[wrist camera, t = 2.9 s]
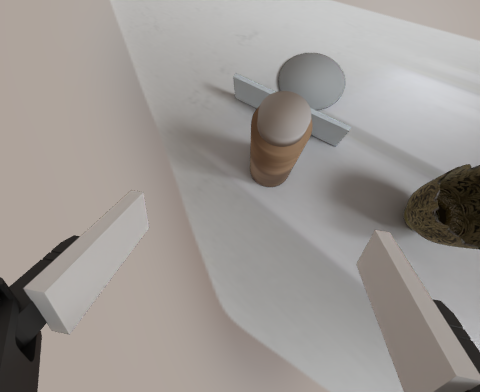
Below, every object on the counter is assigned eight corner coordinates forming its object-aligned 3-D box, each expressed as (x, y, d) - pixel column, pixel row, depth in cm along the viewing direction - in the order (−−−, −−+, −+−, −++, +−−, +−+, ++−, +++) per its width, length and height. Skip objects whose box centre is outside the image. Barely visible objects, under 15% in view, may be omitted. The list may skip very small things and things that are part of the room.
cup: (375, 192, 28) (426, 171, 20) (435, 182, 28) (508, 156, 20) (396, 255, 26) (459, 258, 18) (459, 243, 26) (549, 242, 18)
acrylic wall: (337, 142, 29) (351, 126, 25) (335, 146, 29) (349, 131, 25) (237, 94, 31) (235, 72, 27) (235, 98, 31) (233, 76, 27)
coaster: (354, 70, 32) (355, 68, 31) (327, 121, 30) (327, 119, 30) (296, 45, 33) (297, 43, 33) (267, 93, 31) (267, 91, 31)
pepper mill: (296, 161, 29) (329, 102, 17) (277, 194, 28) (299, 155, 16) (261, 143, 30) (270, 75, 18) (242, 175, 29) (239, 125, 17)
